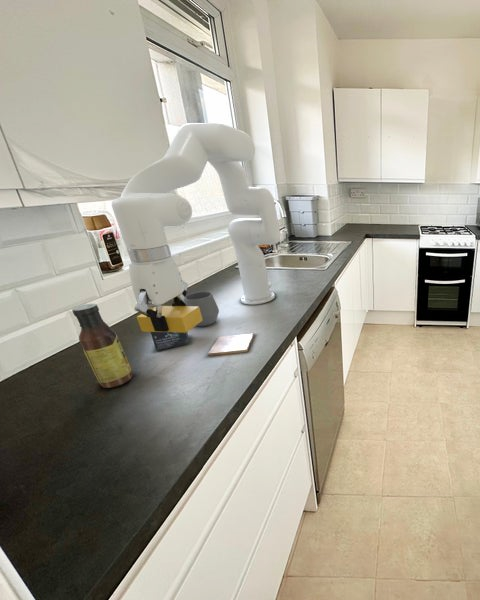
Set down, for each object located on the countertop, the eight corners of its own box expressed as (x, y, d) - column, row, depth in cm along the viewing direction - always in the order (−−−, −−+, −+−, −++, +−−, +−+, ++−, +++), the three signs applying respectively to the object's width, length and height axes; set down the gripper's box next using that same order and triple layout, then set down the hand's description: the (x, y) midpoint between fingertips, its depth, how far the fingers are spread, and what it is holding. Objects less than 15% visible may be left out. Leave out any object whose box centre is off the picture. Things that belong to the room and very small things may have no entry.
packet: (161, 319, 81) (157, 305, 80) (202, 320, 81) (199, 306, 79) (141, 331, 75) (136, 316, 74) (186, 332, 75) (181, 317, 73)
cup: (186, 331, 100) (178, 302, 96) (191, 319, 108) (184, 292, 104) (220, 326, 103) (213, 298, 100) (222, 315, 111) (216, 289, 107)
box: (156, 352, 88) (145, 318, 84) (157, 343, 93) (146, 311, 89) (189, 344, 92) (179, 311, 88) (188, 336, 97) (179, 305, 93)
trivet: (219, 338, 96) (218, 336, 95) (254, 335, 98) (253, 333, 97) (208, 356, 86) (207, 353, 86) (247, 351, 89) (246, 349, 88)
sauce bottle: (140, 376, 78) (112, 303, 70) (111, 392, 72) (78, 314, 65) (122, 371, 80) (93, 299, 72) (93, 386, 74) (58, 310, 67)
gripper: (162, 244, 79) (181, 309, 86) (99, 264, 63) (129, 341, 70) (191, 245, 79) (208, 309, 86) (135, 265, 63) (161, 342, 70)
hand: (172, 323), depth 78 cm, fingers closed on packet, 6 cm apart
